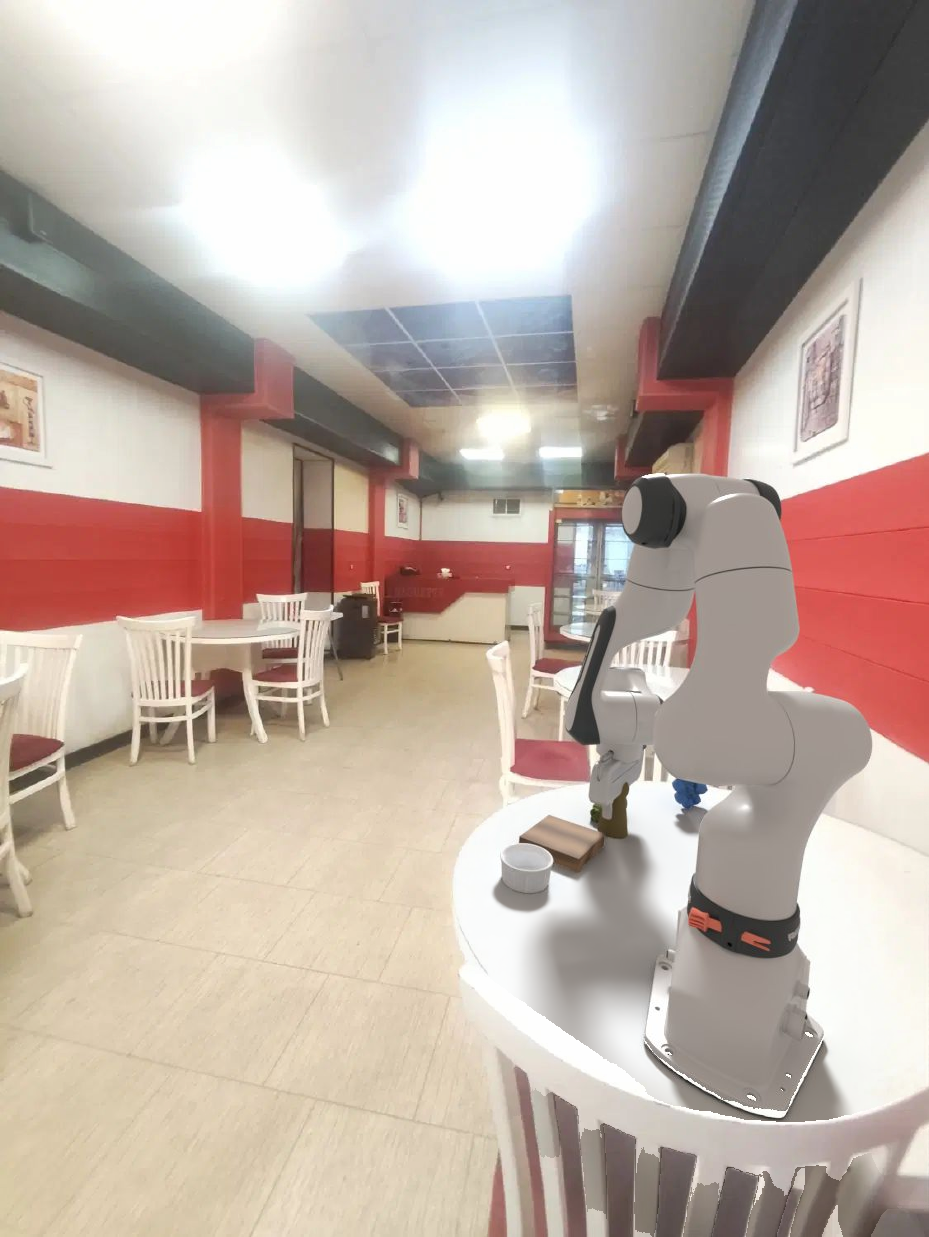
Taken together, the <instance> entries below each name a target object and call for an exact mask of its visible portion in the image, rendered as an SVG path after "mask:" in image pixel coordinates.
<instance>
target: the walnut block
mask: <svg viewBox="0 0 929 1237" xmlns="http://www.w3.org/2000/svg"><path fill="white" fill-rule="evenodd" d="M518 838H519V839H518V843H528V844H533V845H537V846H539V847H542V848H544V849H545V850H547V851H548V852H549V853H550V854H551V855H552V857H553V864H555V865H558V866H560V867H563V868H565V869H568V870H571V871H573V872H575V873H579V872H580V871H581V870H582V869H583V868H584V867H585V866H586V865H587V864H589V862H591V860H592V859H593V858H594V857H595V856H597V854H598V853H599V852H600V851H601V850H602V849H603V848H604V847H605V841H606V836H605V834H604V833H601V832H598V830H595V829H592V828H589V827H586V826H583V825H580V824H577V823H574V822H571V821H569V820H565V819H563V818H560V817H557V816H554V815H551V814H548V815H547V816H545V817H544V818H542V819H541V820H540V821H538V822H537V823H535V825H533V826H531V827H530V828H529V829H528V830H526V831H524V832H523V833H522V834H520V835H519V837H518Z"/></svg>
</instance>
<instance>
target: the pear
mask: <svg viewBox="0 0 929 1237" xmlns="http://www.w3.org/2000/svg"><path fill="white" fill-rule="evenodd" d="M627 808H628V799H627V797H626V809H627ZM601 810H602V806H601V805H598V804H595V803H592V809H590V811H589V814H590V819H592V820H593V821H595V822H597V823H599V819H600V814H601Z"/></svg>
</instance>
